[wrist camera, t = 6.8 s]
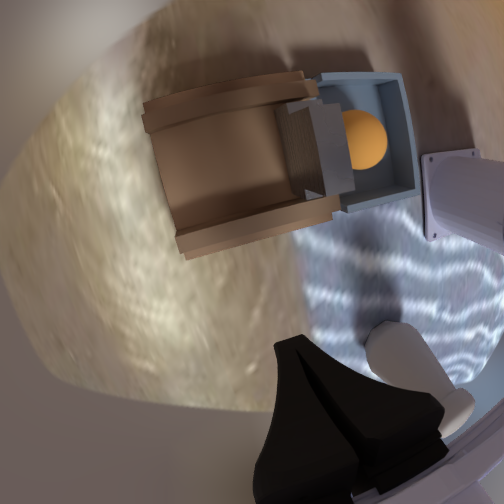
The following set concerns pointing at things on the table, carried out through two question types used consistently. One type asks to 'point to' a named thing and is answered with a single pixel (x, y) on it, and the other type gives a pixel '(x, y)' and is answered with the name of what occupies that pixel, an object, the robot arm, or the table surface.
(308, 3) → the table surface
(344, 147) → the grey stepped block
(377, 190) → the blue-grey open tray
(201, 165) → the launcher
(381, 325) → the salt shaker
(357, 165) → the ball
